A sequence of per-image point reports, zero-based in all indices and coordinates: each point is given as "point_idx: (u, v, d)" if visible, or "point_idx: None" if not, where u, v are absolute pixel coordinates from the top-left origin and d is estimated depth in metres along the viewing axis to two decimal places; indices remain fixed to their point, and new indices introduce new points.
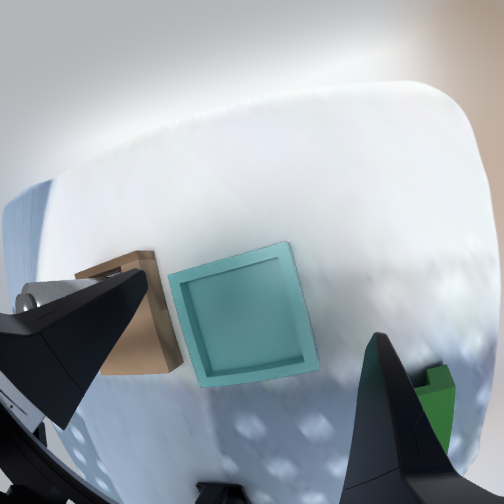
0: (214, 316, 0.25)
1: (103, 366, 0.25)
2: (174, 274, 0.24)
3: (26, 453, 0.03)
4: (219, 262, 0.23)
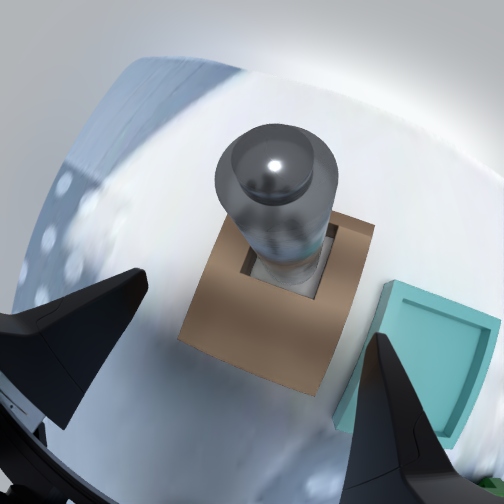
0: (400, 354, 0.17)
1: (193, 330, 0.18)
2: (403, 284, 0.17)
3: (26, 453, 0.03)
4: (452, 303, 0.15)
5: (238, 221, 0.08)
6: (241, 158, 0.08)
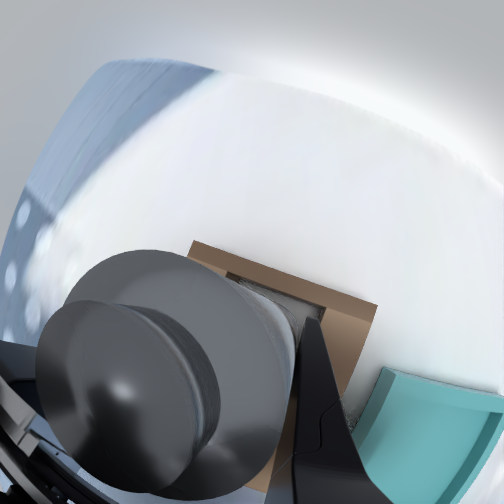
0: (392, 447, 0.12)
1: None
2: (406, 379, 0.11)
3: (26, 453, 0.03)
4: (464, 394, 0.10)
5: None
6: (48, 388, 0.02)
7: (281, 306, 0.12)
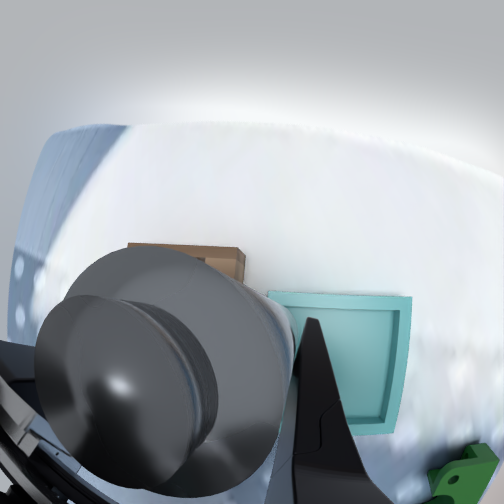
0: None
1: None
2: (278, 293, 0.20)
3: (26, 453, 0.03)
4: (339, 297, 0.19)
5: None
6: (47, 383, 0.02)
7: None
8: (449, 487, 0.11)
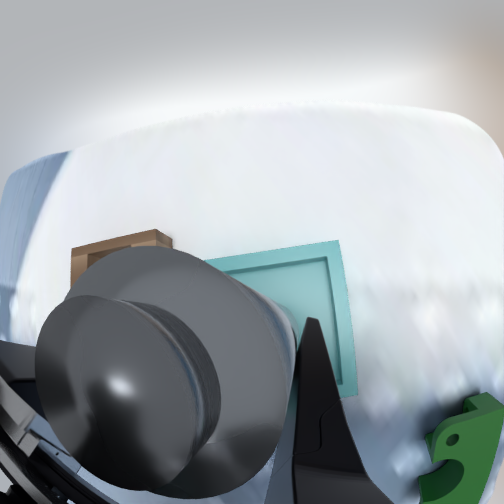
0: None
1: None
2: None
3: (26, 453, 0.03)
4: (257, 254, 0.19)
5: None
6: (47, 384, 0.02)
7: (281, 305, 0.12)
8: (450, 449, 0.11)
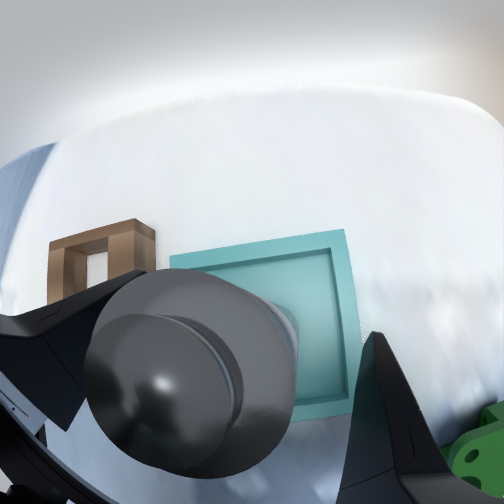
0: None
1: None
2: (179, 256, 0.17)
3: (26, 453, 0.03)
4: (248, 246, 0.17)
5: None
6: (97, 387, 0.03)
7: (283, 308, 0.13)
8: (468, 466, 0.08)
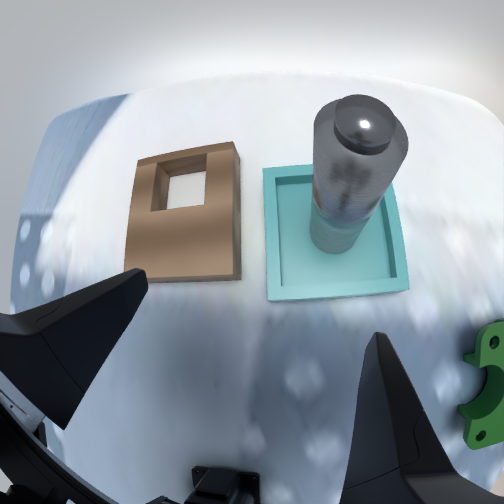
0: (300, 223, 0.23)
1: (131, 265, 0.22)
2: (271, 168, 0.23)
3: (26, 453, 0.03)
4: None
5: (336, 162, 0.09)
6: (343, 114, 0.09)
7: None
8: (493, 353, 0.14)
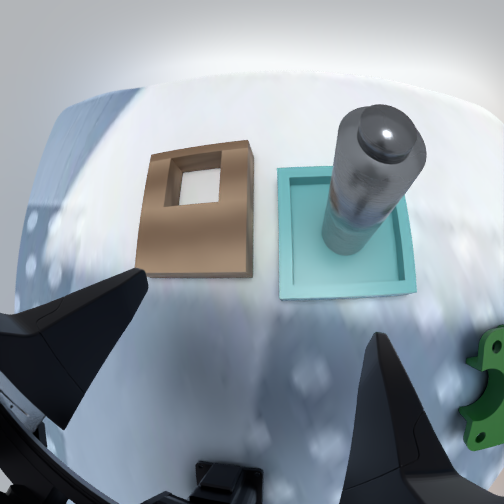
0: (313, 223, 0.23)
1: (143, 260, 0.23)
2: (285, 168, 0.23)
3: (26, 453, 0.03)
4: None
5: (359, 170, 0.10)
6: (368, 123, 0.09)
7: None
8: (495, 358, 0.14)
